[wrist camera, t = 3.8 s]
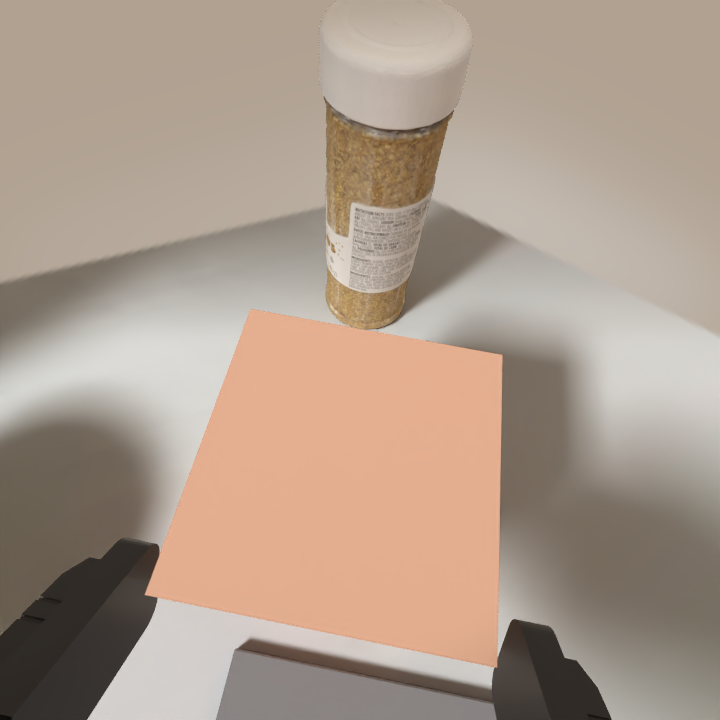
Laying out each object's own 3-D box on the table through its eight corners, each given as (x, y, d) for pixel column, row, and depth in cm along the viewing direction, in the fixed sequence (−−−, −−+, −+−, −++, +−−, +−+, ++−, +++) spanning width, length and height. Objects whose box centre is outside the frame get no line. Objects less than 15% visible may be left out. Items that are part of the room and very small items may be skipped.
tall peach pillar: (252, 588, 17) (144, 594, 7) (290, 444, 20) (250, 308, 10) (400, 619, 17) (497, 667, 7) (417, 469, 19) (502, 354, 10)
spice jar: (326, 266, 25) (321, -24, 13) (403, 269, 25) (467, -13, 13) (323, 332, 23) (314, 56, 11) (407, 335, 23) (488, 67, 11)
